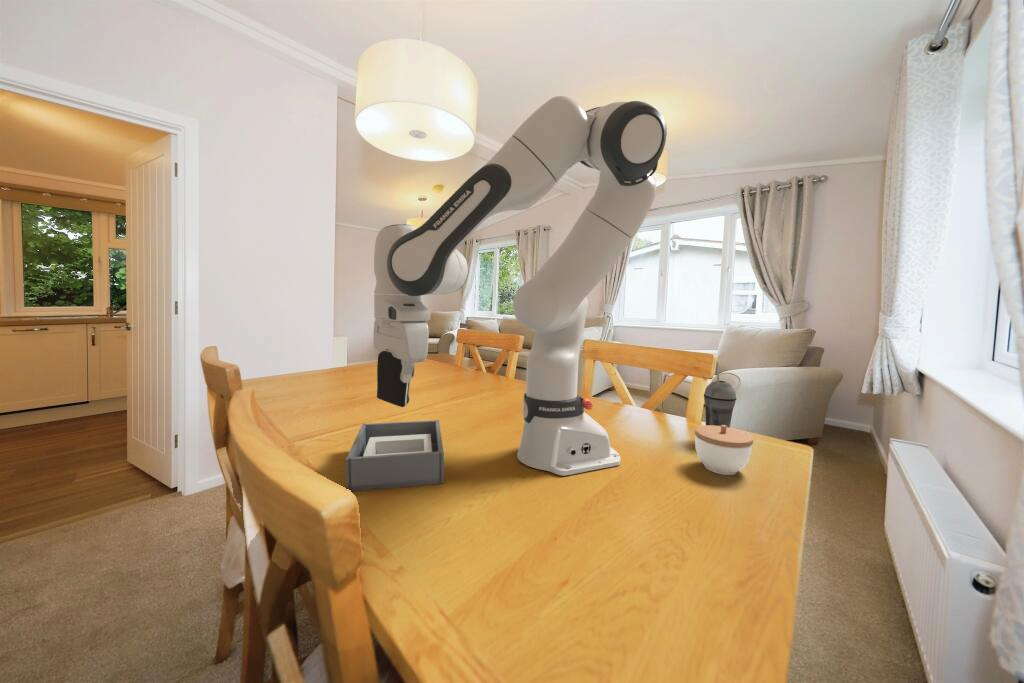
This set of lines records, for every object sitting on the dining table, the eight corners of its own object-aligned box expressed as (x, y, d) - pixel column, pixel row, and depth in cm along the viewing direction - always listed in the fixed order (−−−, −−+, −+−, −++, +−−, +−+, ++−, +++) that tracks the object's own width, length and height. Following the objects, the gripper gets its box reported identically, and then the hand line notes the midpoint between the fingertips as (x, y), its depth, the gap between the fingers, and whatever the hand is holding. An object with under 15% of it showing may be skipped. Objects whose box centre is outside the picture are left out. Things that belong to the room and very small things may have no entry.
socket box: (438, 444, 92) (438, 420, 92) (443, 483, 73) (443, 452, 72) (362, 449, 89) (362, 423, 88) (346, 491, 69) (345, 459, 69)
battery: (414, 400, 83) (418, 352, 78) (403, 409, 79) (407, 359, 75) (386, 390, 84) (388, 342, 80) (375, 398, 81) (376, 349, 77)
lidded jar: (762, 475, 79) (766, 431, 78) (724, 484, 75) (728, 437, 74) (716, 455, 89) (720, 416, 88) (681, 462, 85) (684, 420, 84)
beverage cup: (737, 448, 94) (744, 366, 92) (704, 445, 96) (710, 364, 93) (727, 438, 101) (733, 361, 99) (697, 435, 103) (702, 360, 101)
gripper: (365, 307, 84) (366, 370, 85) (401, 312, 68) (401, 390, 69) (394, 307, 88) (394, 368, 89) (434, 312, 71) (434, 386, 73)
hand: (397, 378), depth 79 cm, fingers closed on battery, 7 cm apart
